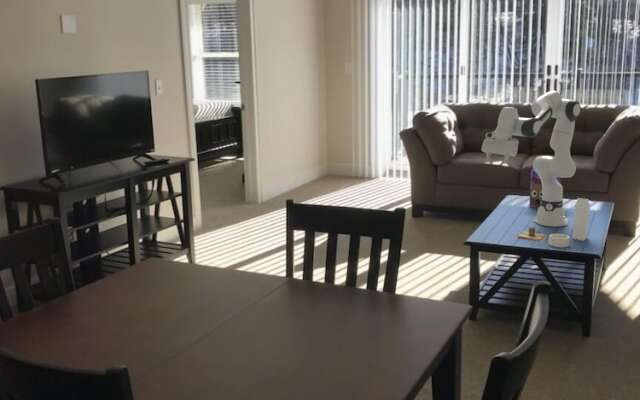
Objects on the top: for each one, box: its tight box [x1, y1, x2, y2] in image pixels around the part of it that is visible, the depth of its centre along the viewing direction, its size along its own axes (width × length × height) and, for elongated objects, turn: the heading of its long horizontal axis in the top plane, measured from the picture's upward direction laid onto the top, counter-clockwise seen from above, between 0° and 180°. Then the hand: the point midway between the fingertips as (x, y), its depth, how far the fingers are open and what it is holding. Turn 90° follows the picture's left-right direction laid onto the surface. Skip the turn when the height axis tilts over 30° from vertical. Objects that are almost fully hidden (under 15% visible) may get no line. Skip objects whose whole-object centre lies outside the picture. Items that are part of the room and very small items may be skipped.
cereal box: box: [528, 168, 562, 209], centre depth 436 cm, size 17×5×24 cm, turn 58°
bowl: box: [548, 233, 571, 248], centre depth 357 cm, size 10×10×5 cm
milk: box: [572, 197, 591, 242], centre depth 366 cm, size 6×6×22 cm
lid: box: [516, 226, 547, 242], centre depth 371 cm, size 12×12×5 cm
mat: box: [515, 233, 549, 243], centre depth 372 cm, size 14×14×1 cm
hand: (495, 162), depth 359 cm, fingers open, 8 cm apart
